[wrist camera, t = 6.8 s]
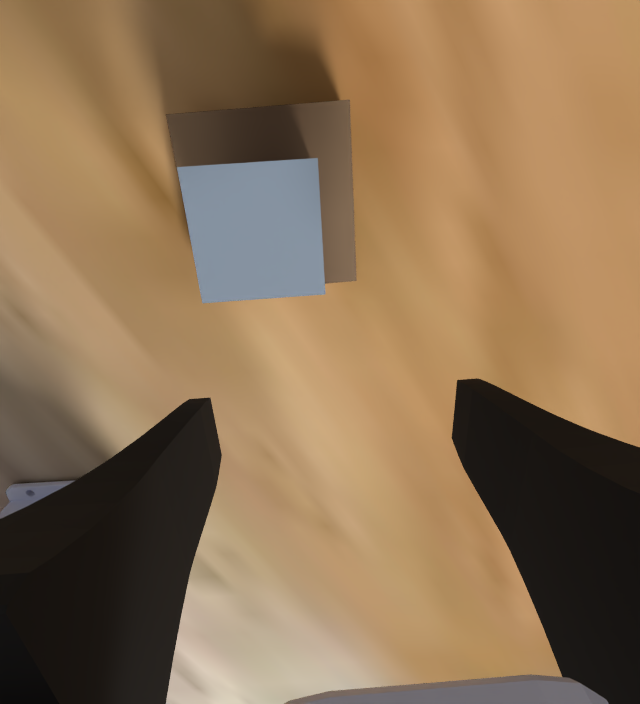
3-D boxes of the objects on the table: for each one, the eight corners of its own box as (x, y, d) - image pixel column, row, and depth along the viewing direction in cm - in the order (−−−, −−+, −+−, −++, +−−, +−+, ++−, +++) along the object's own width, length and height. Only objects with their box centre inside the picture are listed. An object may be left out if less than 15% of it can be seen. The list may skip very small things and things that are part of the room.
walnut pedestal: (215, 278, 21) (202, 293, 18) (187, 124, 18) (165, 114, 15) (349, 266, 21) (356, 280, 18) (342, 111, 18) (349, 99, 15)
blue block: (227, 270, 17) (202, 302, 13) (212, 170, 16) (176, 167, 11) (318, 264, 17) (325, 294, 13) (312, 163, 16) (317, 158, 11)
